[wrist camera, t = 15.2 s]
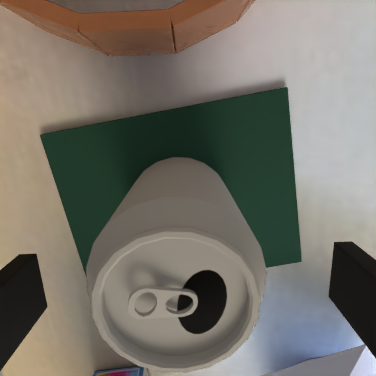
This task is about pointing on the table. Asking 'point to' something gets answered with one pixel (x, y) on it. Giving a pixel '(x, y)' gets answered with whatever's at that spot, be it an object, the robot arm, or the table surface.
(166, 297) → the can
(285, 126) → the felt mat
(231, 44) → the table surface
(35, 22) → the brown wooden ring
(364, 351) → the wedge on round base
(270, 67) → the table surface
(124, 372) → the ink cartridge box
